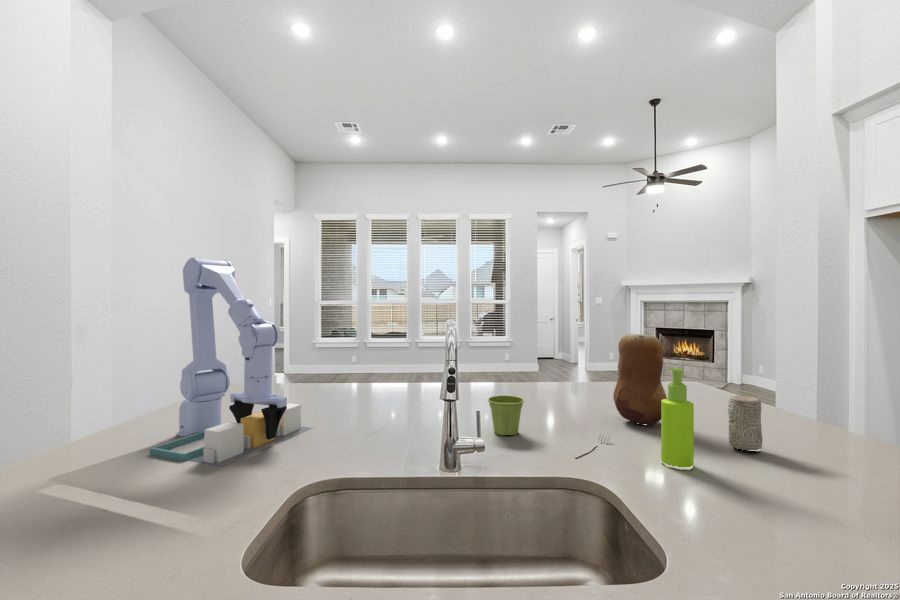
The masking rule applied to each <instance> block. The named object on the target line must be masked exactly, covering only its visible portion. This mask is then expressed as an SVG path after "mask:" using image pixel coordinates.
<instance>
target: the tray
mask: <svg viewBox="0 0 900 600" xmlns="http://www.w3.org/2000/svg"><path fill="white" fill-rule="evenodd" d="M204 433H205V431H203V432H195V433H192V434H189V435H186V436H183V437H181V438H177V439H175V440H172V441H168V442H166V443H162V444H159V445H157V446H153V447H150V448H149V456H153V457H161V458H164V459H165V458H166V459H171V460H176V461H180V462H181V461H182V462H186V461H188V460H191V459H194V458H196V457H199V456H202V455H203V449H204V446H202V447H198V448H196V449H193V450H189V451H187V452H179V451H177V450H176V451H175V450H171V449H174V448H178V447H180V446H183V445H186V444H190V443H191V442H195V441H199V440H201V439H204Z"/></svg>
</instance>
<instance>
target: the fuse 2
mask: <svg viewBox="0 0 900 600" xmlns="http://www.w3.org/2000/svg"><path fill="white" fill-rule="evenodd" d="M279 425H280V435H286V434H289V433H291V432H294V431H296V430H299V429H301V426H302V405H301V404H298V403H288V402H287V409H286V410H285V412H284V414H283V416H282V418H281V420H280V423H279Z"/></svg>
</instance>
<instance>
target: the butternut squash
mask: <svg viewBox="0 0 900 600" xmlns="http://www.w3.org/2000/svg"><path fill="white" fill-rule="evenodd" d="M617 347H618V355H619V356H618V363H617V371H618V373H617V381H616V384H615V386H614V387H615V388H614V390H613V401H614V404H615V407H616V410H617V412H618V413H619V415H620V416H621V417H622V418H623V419H625V420H628V421H629V422H630V421H631V422H633V423H634V422H635V423H634V424H636V423H639V424H647V425H648V426H649V425H654V424H655V425H656V424H657V423H659V422H660V421H661V400H663V399H668V396H667V395H666V394H667V393H666V391H665V389H664V386H663V384H662V383H663V382H662V381H661V378H662V377H661V376H662V373H663V367H664V356H663V346H662V342H661V340H660V339H659V338H657V337H656V336H654V335H649V334H641V333H633V332H632V333H630V332H629V333H626V334H624V335H622V337H621V338H620V340H619V342H618V346H617Z"/></svg>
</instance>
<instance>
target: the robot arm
mask: <svg viewBox="0 0 900 600" xmlns="http://www.w3.org/2000/svg"><path fill="white" fill-rule="evenodd" d="M235 275H236V270H235V268H234V266H233V264H232V263H231V261H229V260H218V259H206V258H205V259H204V258H196V257H190V258H189V259H188V260H186V262H185V264H184V266H183V269H182V277H183V278H182V279H183V289H184V292H185V293H187V294H188V298H189V299H188V301H189V303H188V304H189V313H190V315H189V316H190V327H191V328H190V329H191V343H192V345H191V346H192V347H191V348H192V361H191V362H190V363H188V364H187V365H186V366H185V367H184V368H183V369H182V370H181V380H180V383H179V389H180V394H181V395H182V397H183V398H184V400H183V401H182V402H181V403H180V406H179V410H178V432H175V436H179V437H180V436H181V437H186V436H189V435H192V434H196V433H199V432H203V431H205V429H209V428H212V427H215V426H218V425H221V424H222V415H223V414H222V411H223V410H222V403H223V401H222V400H223V399H222V398H223V397H225V394H226V393H227V392H228V391H229V387H230V386H231V380H230V375H229V374H228V370H227V365H226V364H225V362H223V361H221V360H220V359H218V358H217V349H216V334H215V317H214V305H213V298H214V296H215V295H217V294H220V295H221V297H222V298H223V299H224V300H225V302H226V303H227V304H228V306H229V308H228V309H227V312H228V315H229V317H230V318H231V321H232V322H233V323H234V325H235V327H236V328H237V330H238V333H239V335H238V342H239V345H240V347H241V355H242V357H243V358H244V364H243V366H244V373H243V374H244V376H243V377H244V379H243V380H244V381H243V382H244V385H243V388H244V390H243V392H239V391H238V392H237V391H236V392H232V393H230V400H229V401H230V403H233V404H231V405H229V407H228V408H229V410H230V411H231V413H232V415H233V417H234V419H235V421H236V422H235V423H241V418H243V417H247V416H250V415H253V410H254V407H255V405H260V406H261V405H262V406H268V407H265V408H262V409H260V410H261V411H260V412H262V413H263V416H264V420H265V427H266V438H267V439H272V438H274V437H276V433H277V429H278V426H279V423H280V420H281V418H282V416H283V414H284V412H285V410H286V409H287V404H288V402H287V397H286V396H282V395H278V394H274V393H273V347H274V346H276V344H277V342H278V339H279V332H278V329H277V327H276V324H274V322H270V321H268V319H267V320H266V319H264V318H263V317H262V315H261V313H260V312H259V310H258V309H257V307H256V306H255V304H254V302H253V301H252V300H251V299H245V298H244V296H243V294H242V292H241V289H240V287H239V285H238V284H237V282H236V280H235ZM209 370H211V371H209ZM201 371H202V372H201ZM203 371H204V372H203Z"/></svg>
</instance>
